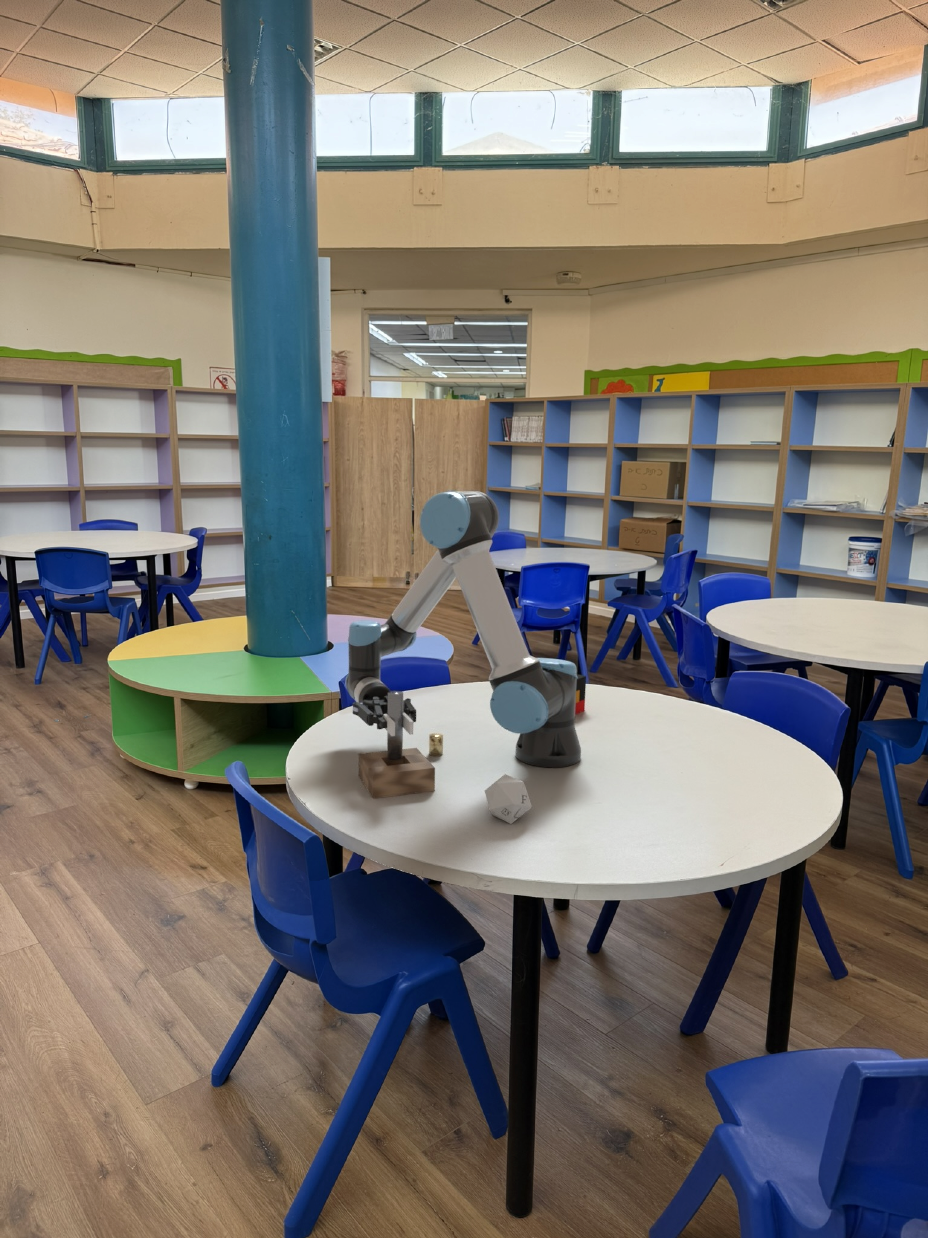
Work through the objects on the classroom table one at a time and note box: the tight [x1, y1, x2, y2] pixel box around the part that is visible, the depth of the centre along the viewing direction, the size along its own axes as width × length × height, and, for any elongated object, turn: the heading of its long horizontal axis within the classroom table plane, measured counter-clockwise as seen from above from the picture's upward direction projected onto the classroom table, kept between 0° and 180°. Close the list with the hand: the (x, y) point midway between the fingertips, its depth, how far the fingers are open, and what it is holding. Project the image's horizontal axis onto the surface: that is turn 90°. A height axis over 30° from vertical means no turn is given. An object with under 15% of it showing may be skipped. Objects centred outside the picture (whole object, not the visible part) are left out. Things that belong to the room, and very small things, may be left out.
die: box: [484, 773, 533, 825], centre depth 156 cm, size 8×9×10 cm
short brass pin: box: [428, 732, 444, 757], centre depth 191 cm, size 3×3×4 cm
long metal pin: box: [386, 690, 404, 760], centre depth 170 cm, size 3×3×14 cm
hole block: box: [357, 747, 436, 799], centre depth 172 cm, size 13×13×5 cm
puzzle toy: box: [575, 674, 587, 716], centre depth 227 cm, size 10×10×10 cm
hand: (402, 728), depth 165 cm, fingers closed on long metal pin, 3 cm apart
